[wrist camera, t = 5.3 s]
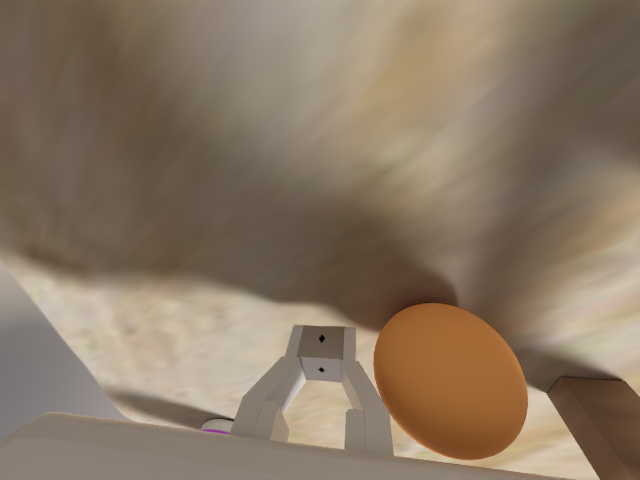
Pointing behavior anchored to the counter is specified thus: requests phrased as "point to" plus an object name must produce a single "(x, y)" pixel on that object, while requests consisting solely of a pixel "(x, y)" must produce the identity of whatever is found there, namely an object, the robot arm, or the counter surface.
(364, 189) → the counter surface
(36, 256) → the counter surface
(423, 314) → the ball
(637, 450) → the bridge
